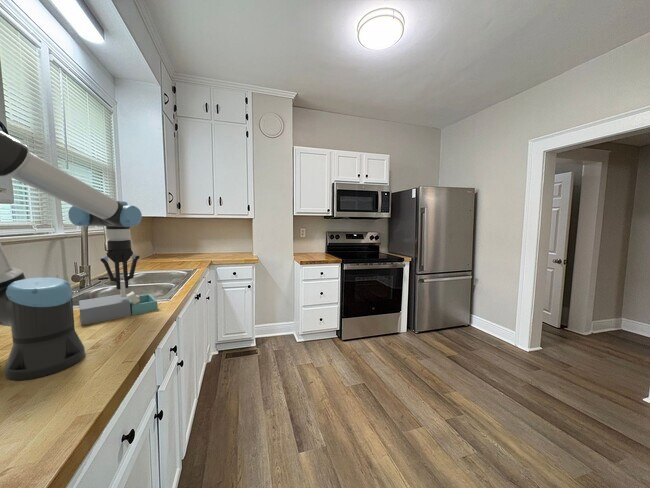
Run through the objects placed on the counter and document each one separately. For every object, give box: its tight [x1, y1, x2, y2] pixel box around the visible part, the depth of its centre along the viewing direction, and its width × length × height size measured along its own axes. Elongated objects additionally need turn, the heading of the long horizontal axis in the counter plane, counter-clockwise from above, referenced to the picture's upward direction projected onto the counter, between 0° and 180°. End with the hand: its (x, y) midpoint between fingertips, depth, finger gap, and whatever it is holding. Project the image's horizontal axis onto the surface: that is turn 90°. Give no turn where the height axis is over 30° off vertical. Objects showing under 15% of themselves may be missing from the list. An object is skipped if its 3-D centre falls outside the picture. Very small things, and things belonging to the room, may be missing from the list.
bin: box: [127, 293, 158, 316], centre depth 117 cm, size 9×14×4 cm, turn 44°
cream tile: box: [126, 290, 140, 304], centre depth 112 cm, size 4×4×2 cm
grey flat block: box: [78, 293, 132, 326], centre depth 108 cm, size 15×14×6 cm
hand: (123, 296), depth 109 cm, fingers closed
